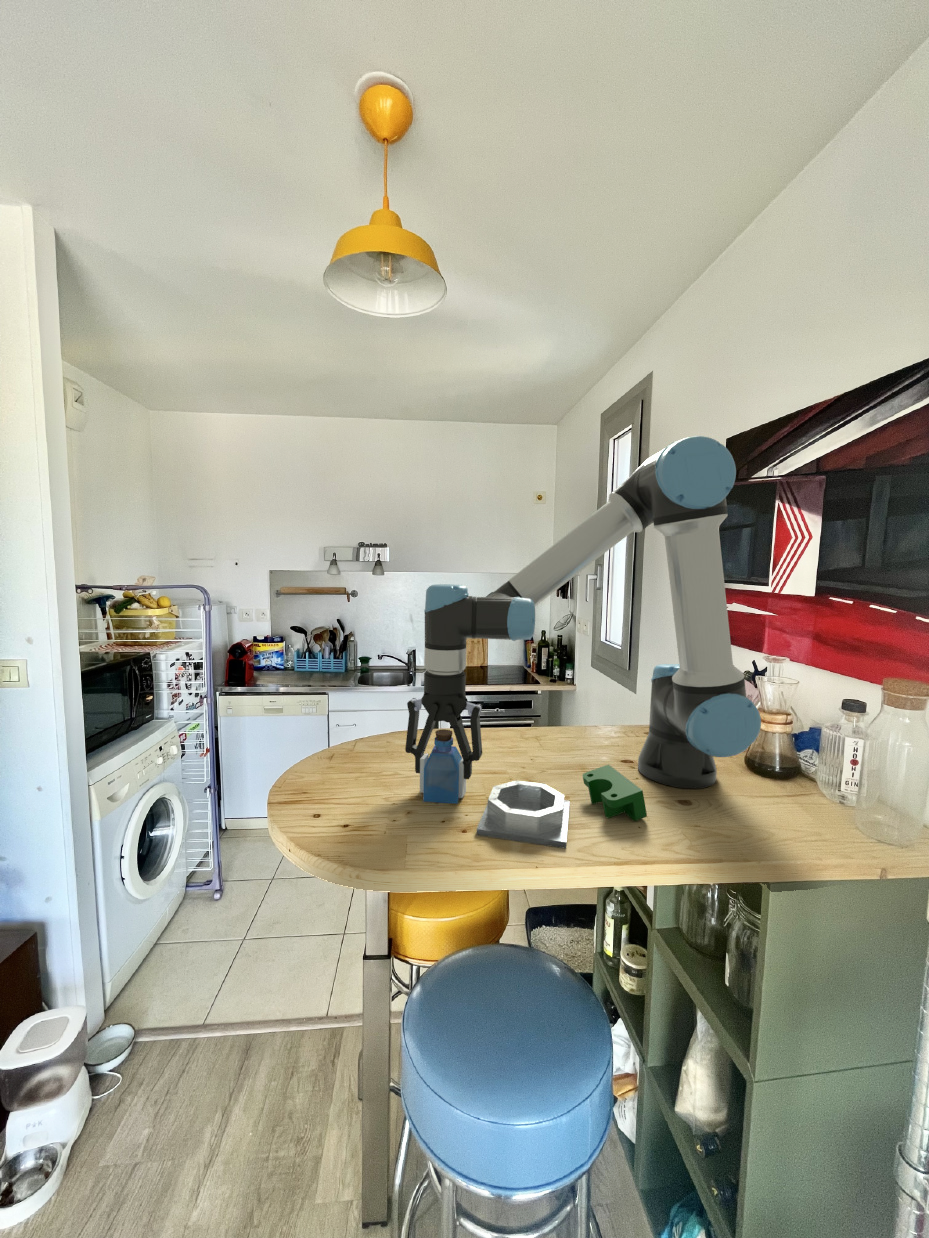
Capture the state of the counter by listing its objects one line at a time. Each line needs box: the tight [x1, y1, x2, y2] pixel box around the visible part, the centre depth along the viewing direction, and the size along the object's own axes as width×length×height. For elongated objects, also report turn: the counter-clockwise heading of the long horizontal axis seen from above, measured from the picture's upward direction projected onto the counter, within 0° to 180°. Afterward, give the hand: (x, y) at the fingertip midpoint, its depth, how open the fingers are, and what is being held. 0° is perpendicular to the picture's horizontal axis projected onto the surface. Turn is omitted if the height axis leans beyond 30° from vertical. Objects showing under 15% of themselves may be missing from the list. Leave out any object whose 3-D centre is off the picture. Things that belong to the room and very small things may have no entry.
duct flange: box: [475, 779, 571, 849], centre depth 87 cm, size 14×14×4 cm
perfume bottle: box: [422, 728, 462, 805], centre depth 95 cm, size 6×6×12 cm
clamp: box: [582, 764, 648, 822], centre depth 91 cm, size 12×6×9 cm, turn 8°
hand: (442, 791), depth 95 cm, fingers closed on perfume bottle, 7 cm apart
